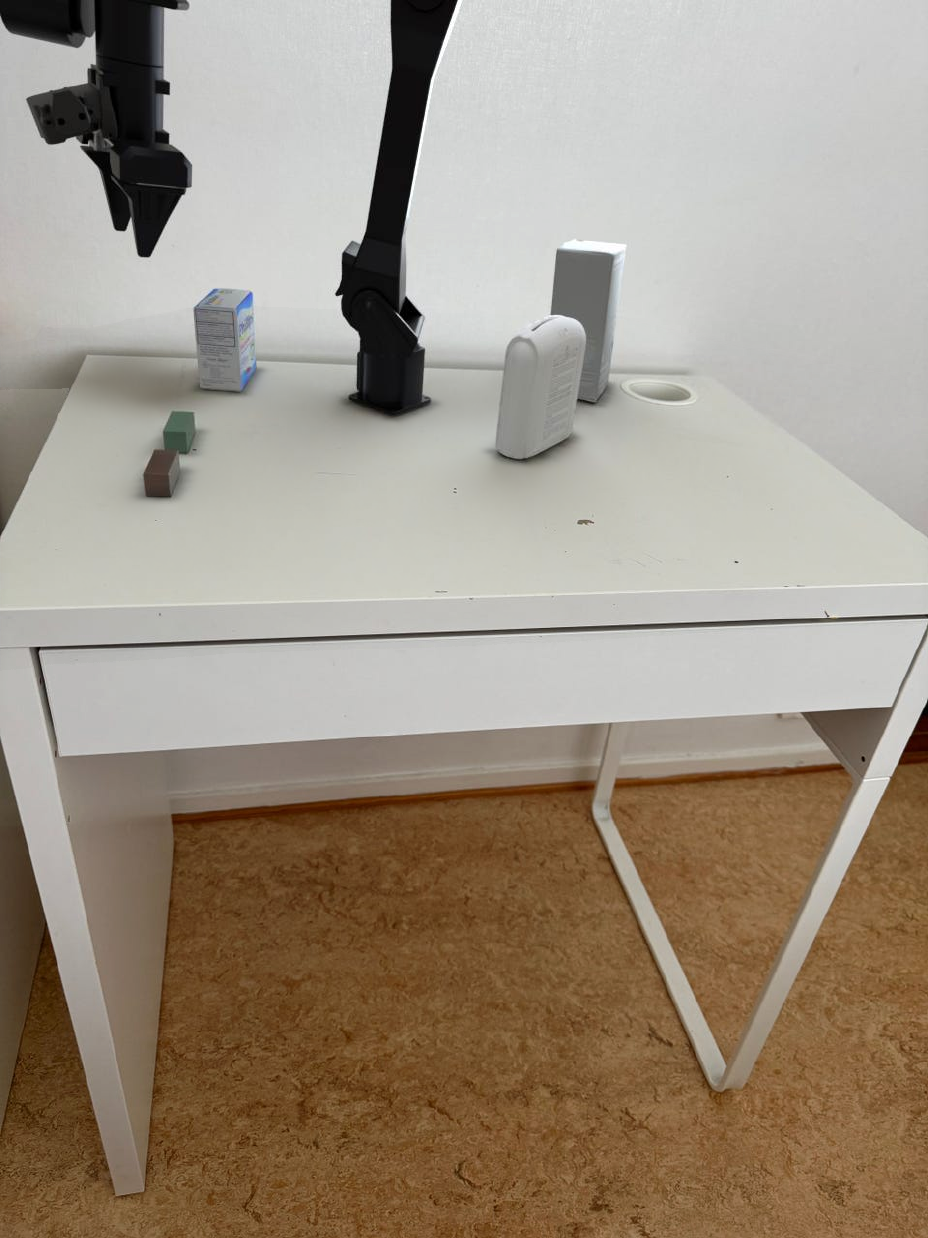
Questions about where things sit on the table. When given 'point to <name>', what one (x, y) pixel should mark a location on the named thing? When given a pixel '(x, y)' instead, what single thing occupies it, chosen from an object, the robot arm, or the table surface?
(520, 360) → the photo printer
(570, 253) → the cosmetic box
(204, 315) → the medicine box
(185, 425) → the sage bar
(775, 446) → the table surface
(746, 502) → the table surface
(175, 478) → the walnut bar
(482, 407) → the table surface
